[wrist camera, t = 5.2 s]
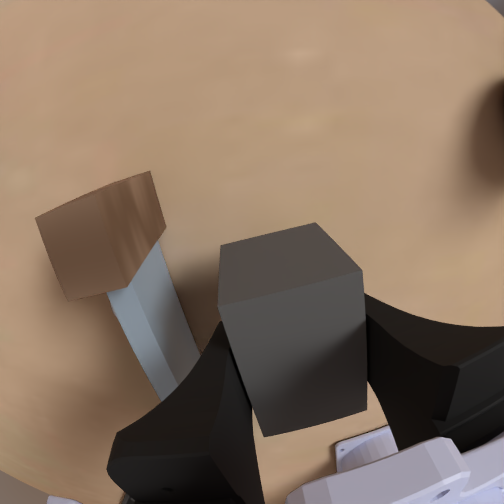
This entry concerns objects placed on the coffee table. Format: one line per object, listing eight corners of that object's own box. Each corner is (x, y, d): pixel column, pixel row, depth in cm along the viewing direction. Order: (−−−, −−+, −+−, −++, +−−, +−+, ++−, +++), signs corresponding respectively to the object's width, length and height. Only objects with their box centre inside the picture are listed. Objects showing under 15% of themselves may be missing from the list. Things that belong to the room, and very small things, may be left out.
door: (228, 420, 21) (230, 476, 16) (199, 424, 21) (197, 479, 16) (157, 238, 16) (130, 279, 11) (119, 248, 16) (83, 290, 11)
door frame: (244, 434, 22) (251, 510, 15) (215, 439, 22) (215, 514, 15) (149, 170, 15) (94, 194, 8) (108, 184, 15) (34, 217, 8)
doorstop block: (332, 337, 15) (366, 409, 10) (253, 357, 15) (263, 437, 10) (315, 222, 13) (362, 270, 8) (220, 245, 13) (217, 306, 8)
